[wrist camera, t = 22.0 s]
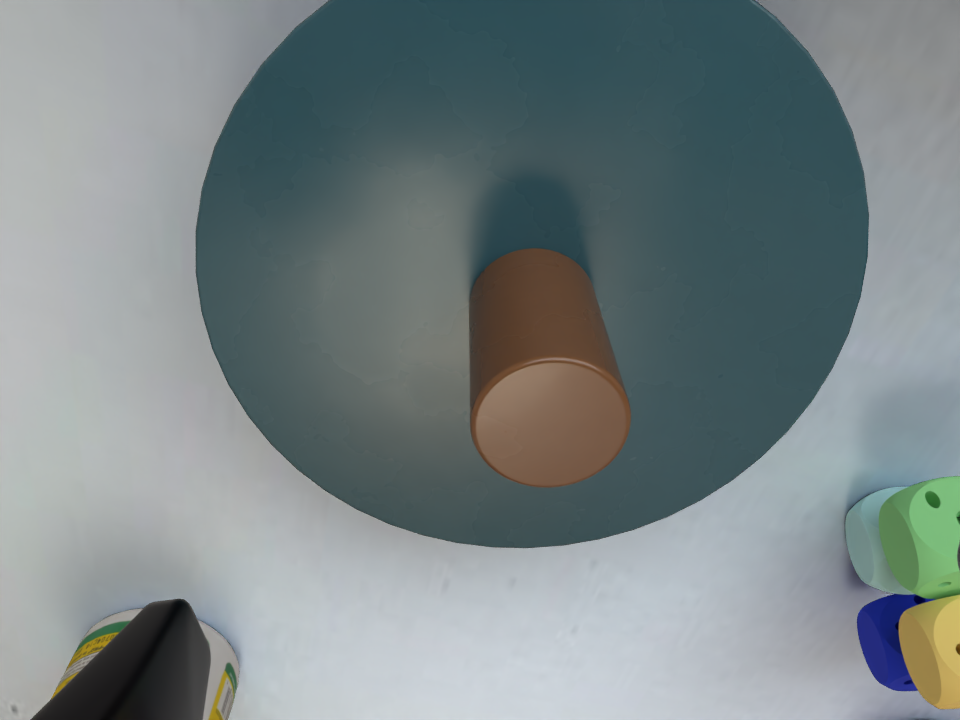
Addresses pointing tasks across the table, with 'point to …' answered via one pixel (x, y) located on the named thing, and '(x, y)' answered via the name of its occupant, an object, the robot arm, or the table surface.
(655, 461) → the pan lid
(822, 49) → the table surface
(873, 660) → the dice
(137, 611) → the supplement bottle
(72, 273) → the table surface
